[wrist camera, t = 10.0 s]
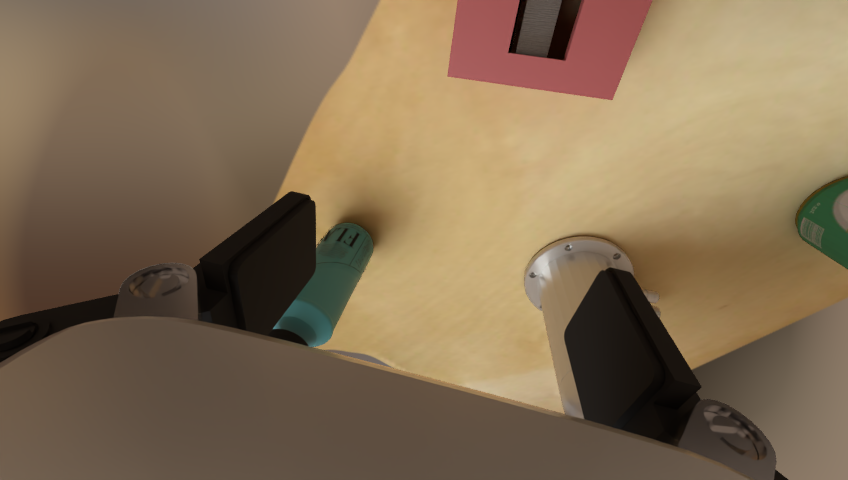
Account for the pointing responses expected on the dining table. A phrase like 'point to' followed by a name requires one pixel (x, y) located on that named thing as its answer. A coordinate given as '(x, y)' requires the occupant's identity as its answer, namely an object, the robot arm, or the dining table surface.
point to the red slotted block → (576, 74)
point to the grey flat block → (535, 27)
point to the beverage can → (826, 220)
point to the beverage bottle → (327, 287)
